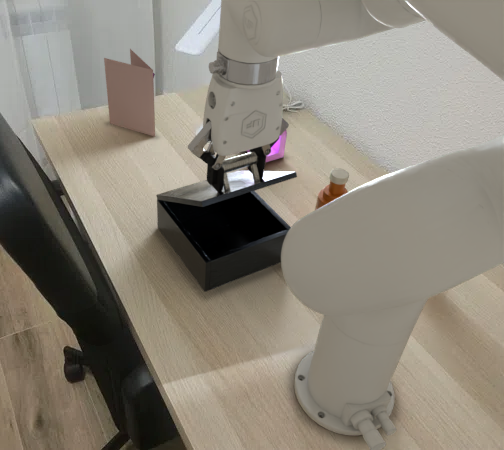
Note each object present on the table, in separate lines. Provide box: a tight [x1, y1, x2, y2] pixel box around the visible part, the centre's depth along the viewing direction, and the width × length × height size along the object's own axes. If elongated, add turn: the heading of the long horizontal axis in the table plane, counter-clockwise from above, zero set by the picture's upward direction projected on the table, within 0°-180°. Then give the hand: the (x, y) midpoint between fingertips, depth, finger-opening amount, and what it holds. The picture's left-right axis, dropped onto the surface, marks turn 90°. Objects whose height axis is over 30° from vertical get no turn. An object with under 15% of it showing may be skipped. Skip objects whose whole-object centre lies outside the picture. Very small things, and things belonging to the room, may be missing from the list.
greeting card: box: [103, 48, 156, 137], centre depth 115 cm, size 11×7×15 cm, turn 29°
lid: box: [156, 152, 298, 207], centre depth 84 cm, size 17×16×5 cm
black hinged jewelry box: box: [156, 190, 292, 293], centre depth 89 cm, size 17×16×7 cm
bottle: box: [314, 167, 350, 211], centre depth 89 cm, size 5×5×14 cm
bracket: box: [246, 129, 288, 164], centre depth 114 cm, size 13×6×7 cm, turn 29°
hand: (235, 179), depth 80 cm, fingers closed on lid, 6 cm apart
